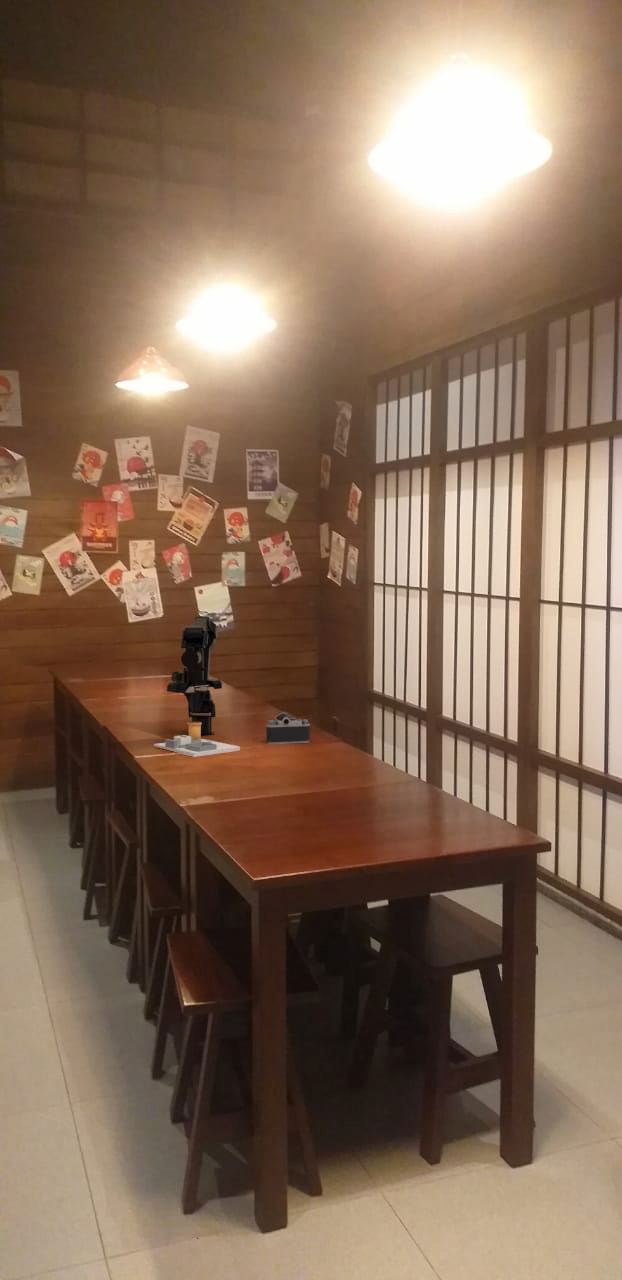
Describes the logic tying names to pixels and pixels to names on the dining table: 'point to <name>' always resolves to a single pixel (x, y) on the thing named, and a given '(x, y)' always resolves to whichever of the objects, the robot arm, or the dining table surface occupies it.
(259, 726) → the dining table surface
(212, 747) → the board
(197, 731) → the cap
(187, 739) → the block
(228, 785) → the dining table surface
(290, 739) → the camera
